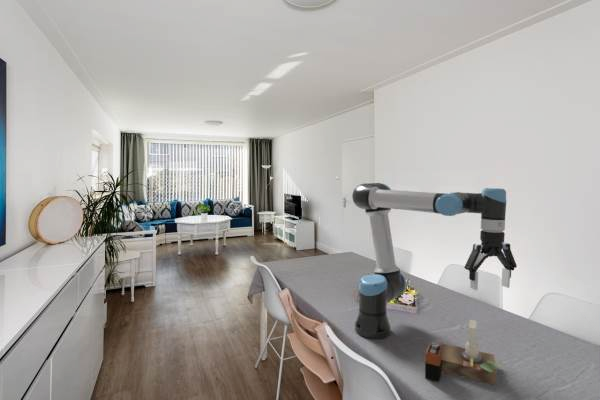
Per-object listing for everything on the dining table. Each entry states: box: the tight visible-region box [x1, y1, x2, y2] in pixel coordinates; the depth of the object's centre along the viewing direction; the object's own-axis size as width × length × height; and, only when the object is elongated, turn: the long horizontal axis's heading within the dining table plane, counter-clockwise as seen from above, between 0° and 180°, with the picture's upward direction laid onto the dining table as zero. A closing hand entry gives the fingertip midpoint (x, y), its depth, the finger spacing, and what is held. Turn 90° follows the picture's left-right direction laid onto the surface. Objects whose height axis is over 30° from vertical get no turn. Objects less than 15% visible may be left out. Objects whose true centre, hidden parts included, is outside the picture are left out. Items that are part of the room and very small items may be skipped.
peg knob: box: [462, 319, 482, 367], centre depth 108 cm, size 6×10×12 cm, turn 152°
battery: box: [424, 342, 443, 383], centre depth 106 cm, size 4×7×10 cm, turn 149°
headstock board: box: [431, 341, 501, 386], centre depth 111 cm, size 21×13×4 cm, turn 62°
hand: (489, 287), depth 117 cm, fingers open, 13 cm apart
